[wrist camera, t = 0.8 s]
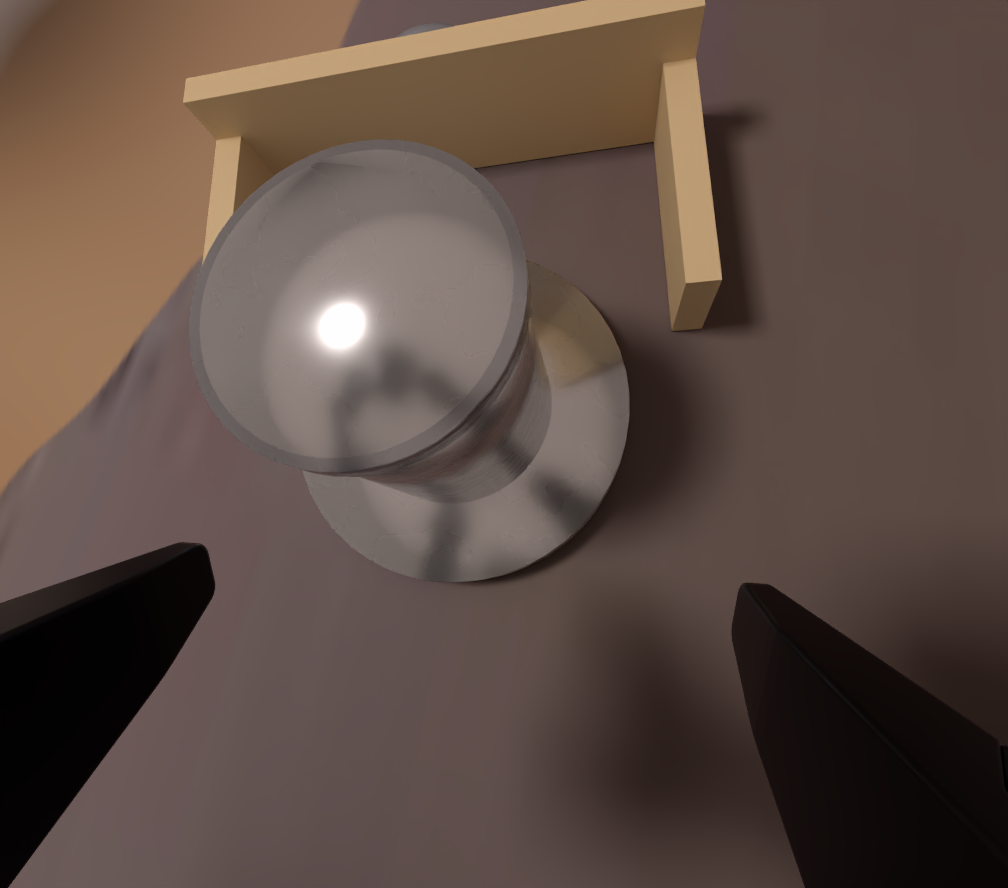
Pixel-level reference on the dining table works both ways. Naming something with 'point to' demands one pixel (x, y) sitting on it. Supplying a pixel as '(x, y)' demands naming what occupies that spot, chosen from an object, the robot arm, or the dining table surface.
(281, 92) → the tan wooden u-frame
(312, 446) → the door knob
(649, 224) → the dining table surface
